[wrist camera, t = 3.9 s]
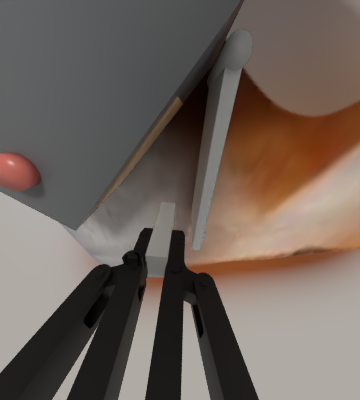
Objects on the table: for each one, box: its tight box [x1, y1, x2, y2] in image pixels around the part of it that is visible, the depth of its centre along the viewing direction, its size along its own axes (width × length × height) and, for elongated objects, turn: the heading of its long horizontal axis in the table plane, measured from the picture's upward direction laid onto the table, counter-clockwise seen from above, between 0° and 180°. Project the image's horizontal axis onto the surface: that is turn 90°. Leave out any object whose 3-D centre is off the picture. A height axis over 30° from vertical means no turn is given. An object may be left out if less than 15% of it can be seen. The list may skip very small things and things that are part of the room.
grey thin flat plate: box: [191, 29, 253, 250], centre depth 14 cm, size 17×2×7 cm, turn 176°
